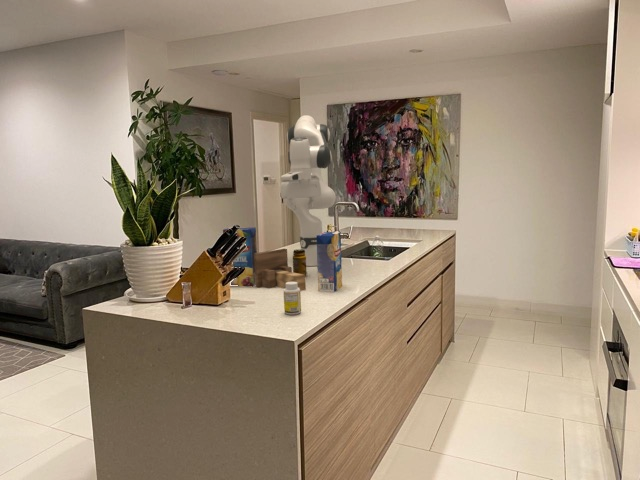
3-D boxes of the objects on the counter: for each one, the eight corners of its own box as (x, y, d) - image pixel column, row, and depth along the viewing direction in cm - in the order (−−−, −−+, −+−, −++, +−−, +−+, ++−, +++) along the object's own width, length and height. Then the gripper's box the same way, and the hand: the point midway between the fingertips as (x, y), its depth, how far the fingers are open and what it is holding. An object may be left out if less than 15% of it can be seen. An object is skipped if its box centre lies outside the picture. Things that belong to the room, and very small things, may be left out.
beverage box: (342, 285, 201) (340, 232, 198) (335, 291, 191) (333, 235, 188) (326, 284, 203) (324, 232, 200) (318, 291, 193) (316, 235, 190)
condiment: (310, 276, 222) (309, 250, 220) (294, 279, 217) (293, 252, 215) (302, 274, 228) (301, 248, 226) (286, 276, 223) (284, 250, 222)
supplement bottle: (292, 309, 167) (291, 280, 166) (304, 312, 164) (303, 282, 162) (280, 313, 163) (279, 283, 162) (293, 316, 160) (291, 285, 158)
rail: (305, 289, 196) (305, 274, 196) (297, 291, 194) (297, 276, 193) (280, 283, 208) (279, 269, 207) (272, 285, 205) (271, 271, 205)
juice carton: (258, 282, 212) (255, 227, 209) (253, 286, 205) (250, 229, 201) (232, 282, 214) (228, 227, 211) (226, 286, 207) (222, 229, 203)
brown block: (295, 282, 210) (294, 250, 208) (265, 289, 199) (264, 255, 197) (285, 280, 215) (284, 248, 213) (255, 286, 204) (253, 253, 202)
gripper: (313, 175, 218) (315, 206, 220) (277, 176, 204) (279, 209, 206) (323, 175, 213) (324, 207, 215) (287, 176, 200) (288, 210, 201)
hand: (302, 208), depth 210 cm, fingers open, 8 cm apart
